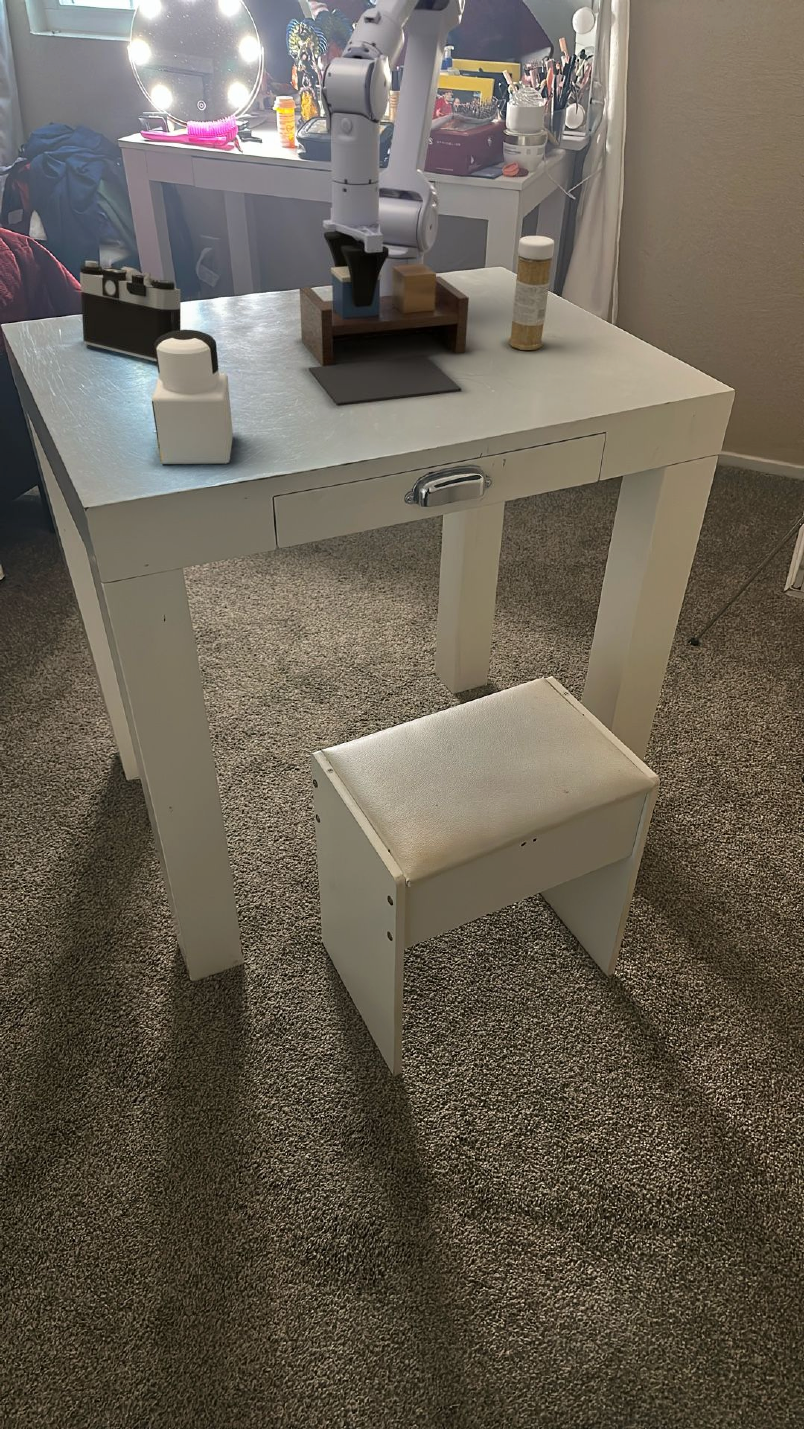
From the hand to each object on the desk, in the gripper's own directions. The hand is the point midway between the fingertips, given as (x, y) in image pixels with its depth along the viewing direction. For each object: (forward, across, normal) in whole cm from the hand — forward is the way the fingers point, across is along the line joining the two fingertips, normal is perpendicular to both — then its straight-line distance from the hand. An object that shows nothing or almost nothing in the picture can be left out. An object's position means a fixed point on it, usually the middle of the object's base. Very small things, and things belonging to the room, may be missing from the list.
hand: (355, 299), depth 120 cm
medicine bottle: (+7, +24, -26) cm, 36 cm away
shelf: (+7, 0, +4) cm, 8 cm away
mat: (+7, +11, 0) cm, 13 cm away
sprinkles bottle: (+7, +4, +23) cm, 24 cm away
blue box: (+2, 0, 0) cm, 2 cm away
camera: (+7, -10, -26) cm, 29 cm away
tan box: (+2, 0, +8) cm, 8 cm away
